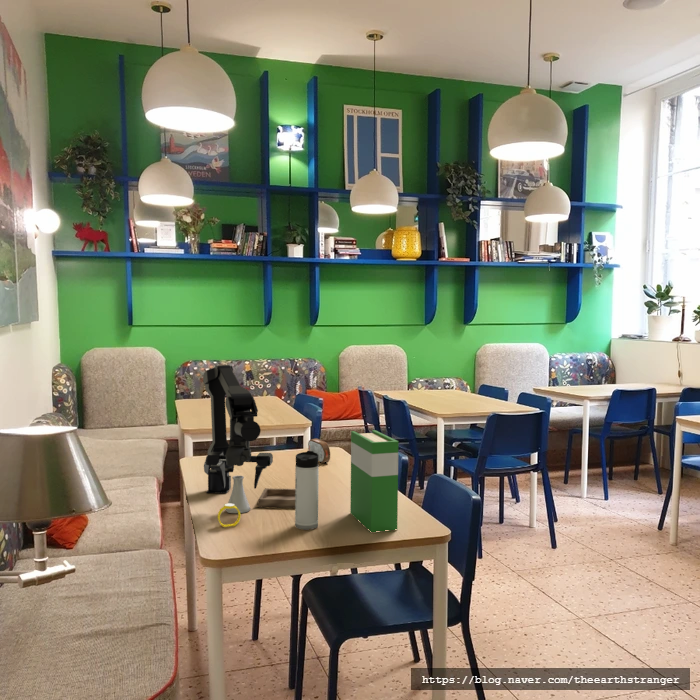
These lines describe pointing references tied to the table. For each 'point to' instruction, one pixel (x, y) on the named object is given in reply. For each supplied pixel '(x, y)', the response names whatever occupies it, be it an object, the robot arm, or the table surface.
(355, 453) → the hardback book
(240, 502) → the flask
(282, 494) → the tray
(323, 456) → the tin
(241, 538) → the table surface
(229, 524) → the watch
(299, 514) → the travel mug
